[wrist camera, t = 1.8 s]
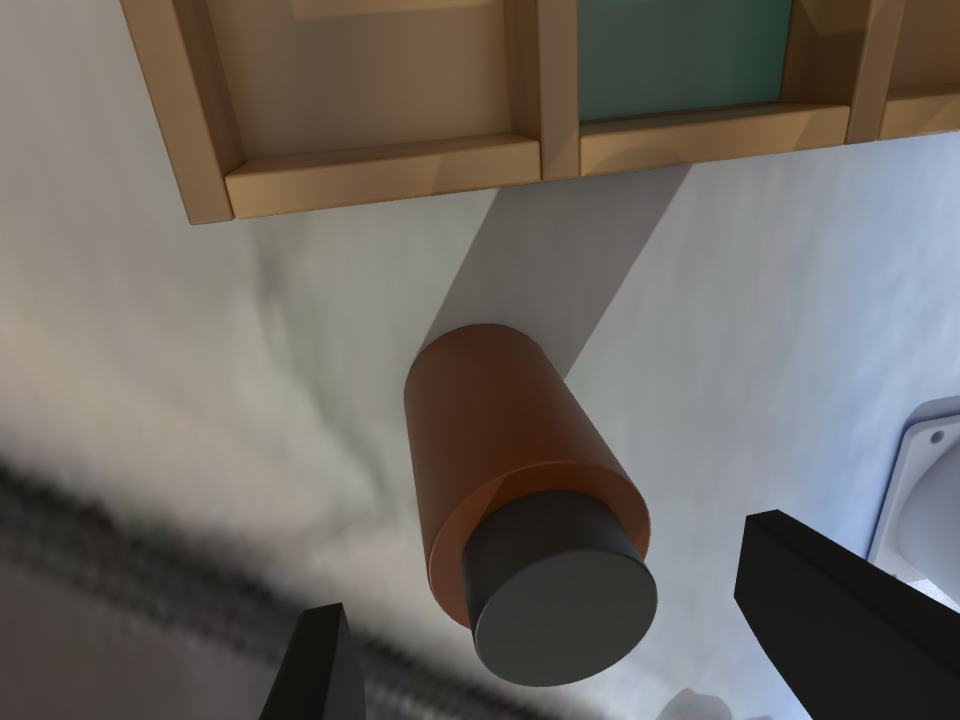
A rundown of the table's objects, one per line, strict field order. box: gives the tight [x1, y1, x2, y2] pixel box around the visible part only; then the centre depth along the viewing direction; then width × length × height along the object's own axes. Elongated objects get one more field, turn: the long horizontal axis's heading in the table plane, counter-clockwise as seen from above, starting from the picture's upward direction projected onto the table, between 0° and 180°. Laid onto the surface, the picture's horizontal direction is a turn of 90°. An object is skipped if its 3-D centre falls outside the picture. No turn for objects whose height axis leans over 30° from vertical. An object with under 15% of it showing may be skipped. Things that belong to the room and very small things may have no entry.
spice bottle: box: [404, 324, 658, 687], centre depth 13 cm, size 4×4×8 cm
